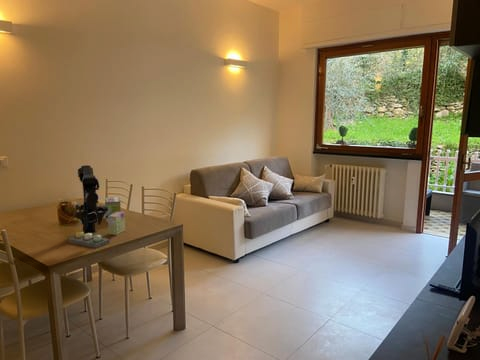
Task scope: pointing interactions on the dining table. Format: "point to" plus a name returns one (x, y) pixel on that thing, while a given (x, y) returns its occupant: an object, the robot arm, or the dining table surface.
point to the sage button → (97, 238)
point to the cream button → (88, 236)
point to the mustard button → (79, 234)
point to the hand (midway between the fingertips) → (92, 226)
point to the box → (116, 223)
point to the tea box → (112, 206)
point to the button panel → (88, 242)
